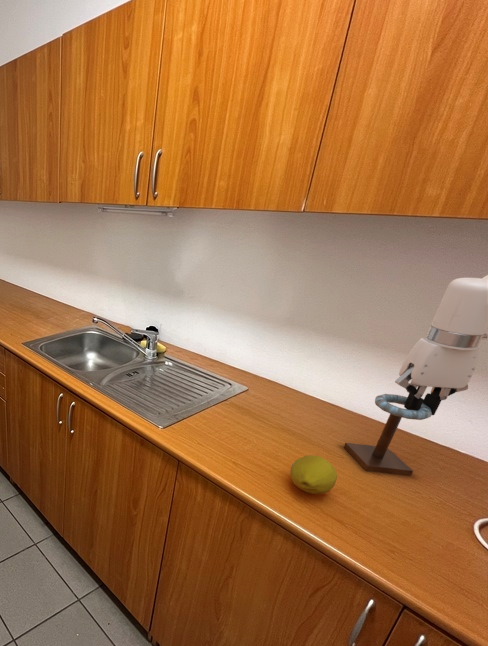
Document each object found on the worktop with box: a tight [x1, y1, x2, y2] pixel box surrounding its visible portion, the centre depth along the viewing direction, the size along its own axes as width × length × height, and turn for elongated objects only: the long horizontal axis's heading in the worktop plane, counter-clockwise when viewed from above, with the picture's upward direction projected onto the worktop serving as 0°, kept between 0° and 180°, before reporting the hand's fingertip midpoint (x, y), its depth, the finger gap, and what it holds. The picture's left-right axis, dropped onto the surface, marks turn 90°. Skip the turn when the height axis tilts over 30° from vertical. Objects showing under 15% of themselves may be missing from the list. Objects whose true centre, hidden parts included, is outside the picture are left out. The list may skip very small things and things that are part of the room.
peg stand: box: [343, 413, 414, 477], centre depth 94 cm, size 9×9×14 cm
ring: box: [374, 393, 433, 421], centre depth 91 cm, size 9×9×2 cm
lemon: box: [289, 454, 338, 495], centre depth 87 cm, size 11×8×8 cm
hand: (418, 410), depth 90 cm, fingers closed on ring, 2 cm apart
